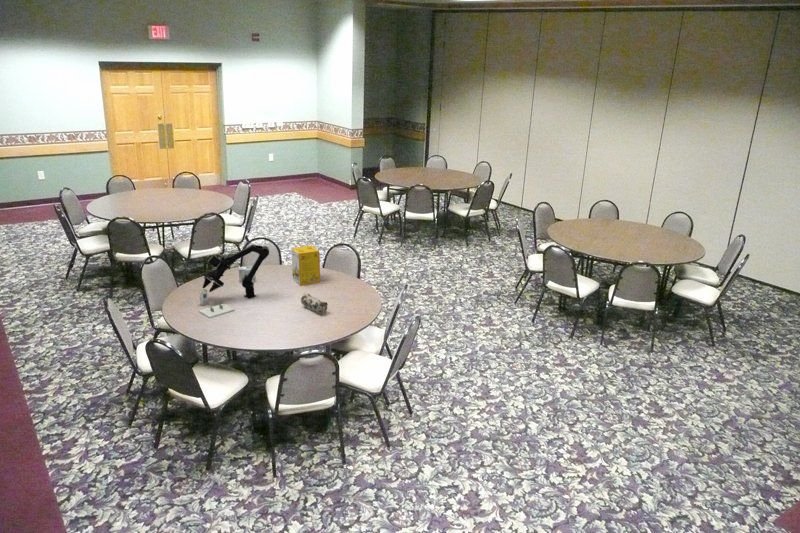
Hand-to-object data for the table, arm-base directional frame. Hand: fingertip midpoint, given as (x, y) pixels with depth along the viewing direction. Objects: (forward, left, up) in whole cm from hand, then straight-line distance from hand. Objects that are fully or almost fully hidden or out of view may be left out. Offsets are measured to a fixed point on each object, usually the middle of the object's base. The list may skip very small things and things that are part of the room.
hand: (206, 290), depth 395 cm
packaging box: (-10, -76, -10) cm, 77 cm away
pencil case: (-58, -47, -10) cm, 75 cm away
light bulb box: (+19, -43, -10) cm, 48 cm away
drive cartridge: (0, +2, -10) cm, 10 cm away
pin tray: (-17, +2, -10) cm, 20 cm away
